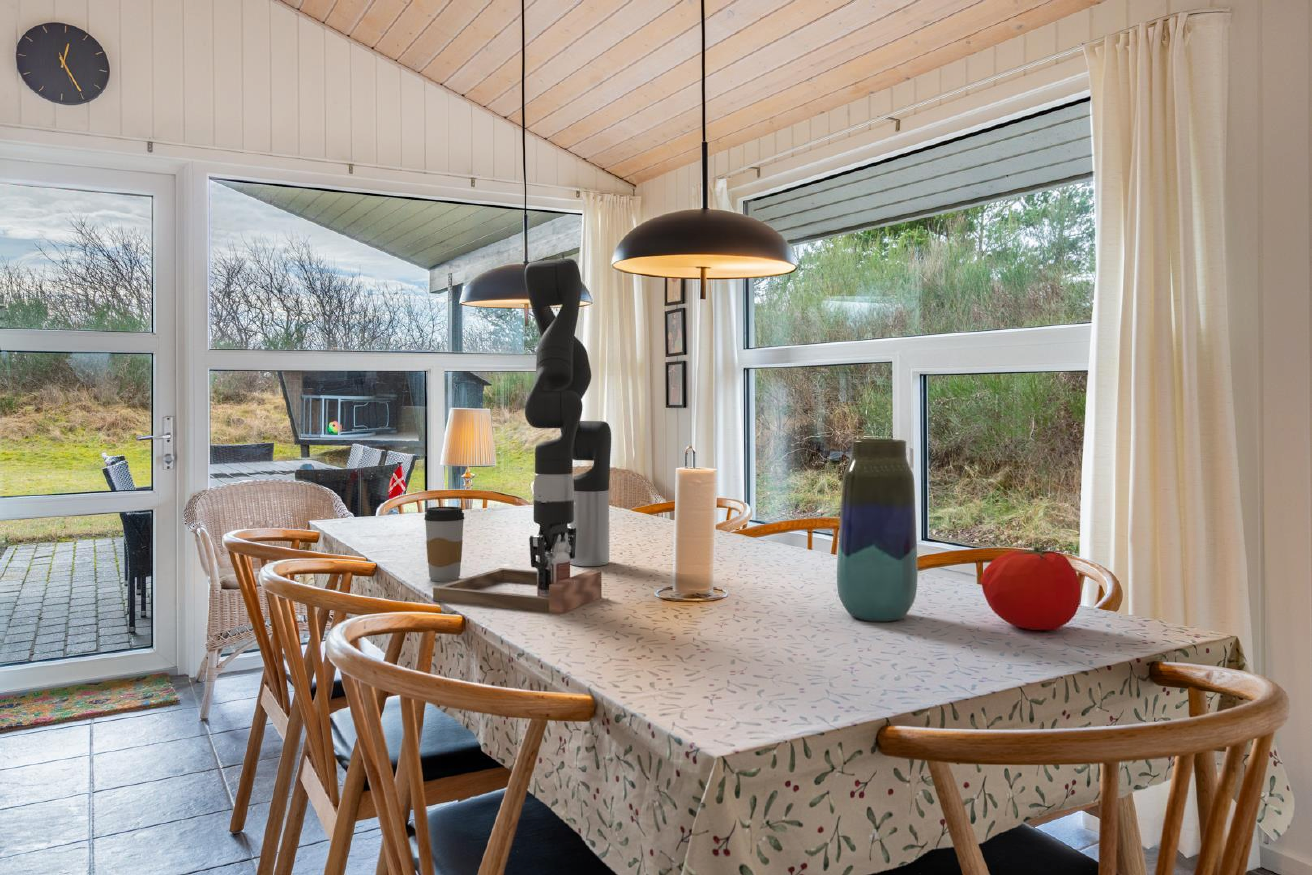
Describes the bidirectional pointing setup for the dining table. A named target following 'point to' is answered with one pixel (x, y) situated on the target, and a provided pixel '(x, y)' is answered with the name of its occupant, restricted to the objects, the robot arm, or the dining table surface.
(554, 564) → the pill bottle
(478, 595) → the wooden tray frame
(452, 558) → the coffee cup
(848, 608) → the vase
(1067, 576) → the tomato
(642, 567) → the dining table surface
